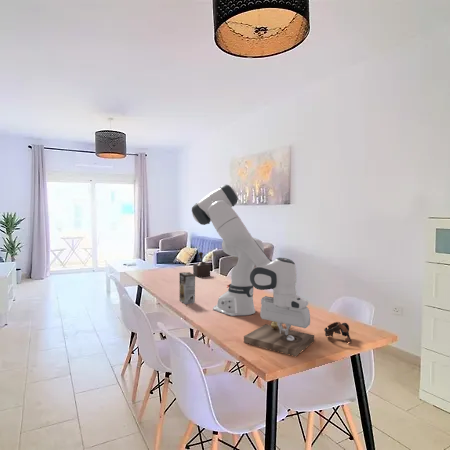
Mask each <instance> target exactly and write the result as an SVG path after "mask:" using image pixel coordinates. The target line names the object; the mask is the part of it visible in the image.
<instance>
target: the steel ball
mask: <svg viewBox="0 0 450 450" xmlns="http://www.w3.org/2000/svg"><path fill="white" fill-rule="evenodd" d="M286 340H289V341H295V338H294V337H293V336H291V335H289V336H287V337H286Z"/></svg>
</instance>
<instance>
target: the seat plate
mask: <svg viewBox="0 0 450 450" xmlns="http://www.w3.org/2000/svg"><path fill="white" fill-rule="evenodd" d="M283 329H286V327H283ZM289 335H291V336H293V337H294V338H295V341H289V340H286V337H287V336H289ZM244 342H245V344H248V343H249V344H248V345H251V344H252V346H256V347H259V346H260V347H259V348H262V347H263V349H266V348H267V349H266V350H269V349H271V350H270V351H273V350H275V351H274V352H277V351H279V352H278V353H280V352H283V353H282V354H284V353H286V354H285V355H287V354H290V355H289V356H291V355H293V356H292V357H295V356H296V357H297V356H298V354H299V353H300V352H301V351H302V350H303V351H305V350H306V349H307V348H308V347H310V346H311V345H312V344H313V343H314V342H315V334H311V333H305V332H301V331H298V330H293V329H289V330H288V335H284V334H280V329H279V327H278V328H277V329H273V328H272V327H271V324H269V323H268V324H266V323H265V324H264V325H262V326H259V327H258V328H256V329H254V330H253V331H250V332H248V334H246V335H244V336H243V343H244ZM312 342H313V343H312ZM311 343H312V344H311ZM307 346H308V347H307ZM306 347H307V348H306ZM305 348H306V349H305ZM303 351H302V352H303ZM302 352H301V353H302ZM301 353H300V354H301Z"/></svg>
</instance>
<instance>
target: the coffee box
mask: <svg viewBox="0 0 450 450" xmlns="http://www.w3.org/2000/svg"><path fill="white" fill-rule="evenodd" d="M179 301H180V302H181V303H183V304H184V305H188V304H195V302H196V276H195V275H194V274H193V273H192V272H189V271H186V272H179Z"/></svg>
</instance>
